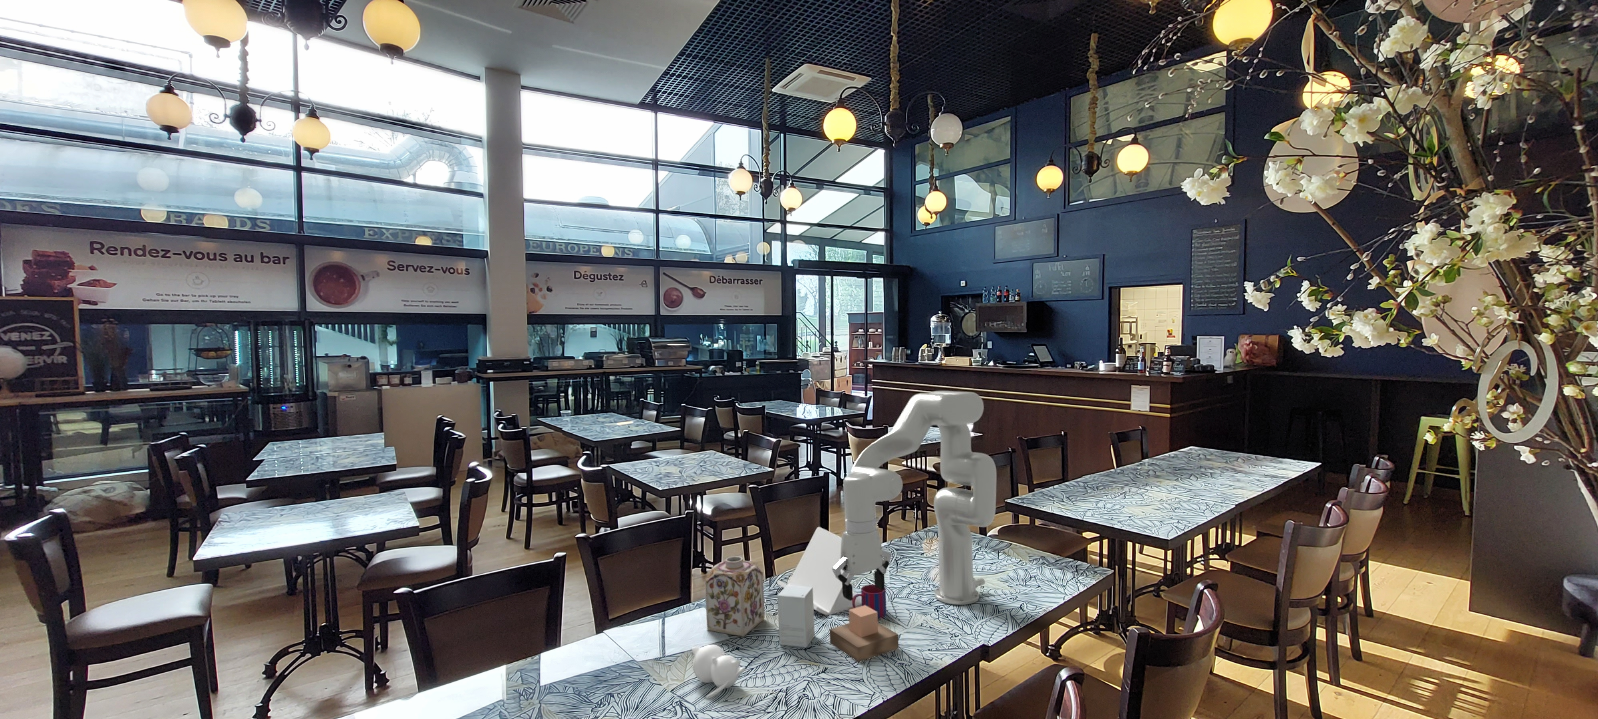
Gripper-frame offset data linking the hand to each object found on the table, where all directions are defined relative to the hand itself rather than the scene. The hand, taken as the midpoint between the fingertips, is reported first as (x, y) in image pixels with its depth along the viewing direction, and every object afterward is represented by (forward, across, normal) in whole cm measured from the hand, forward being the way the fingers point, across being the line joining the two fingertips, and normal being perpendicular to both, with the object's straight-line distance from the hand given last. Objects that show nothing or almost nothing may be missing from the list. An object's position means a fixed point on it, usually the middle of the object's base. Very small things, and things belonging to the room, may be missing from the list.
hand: (864, 593), depth 160 cm
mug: (+13, -11, -14) cm, 22 cm away
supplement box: (+13, +13, -12) cm, 22 cm away
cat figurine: (+12, +39, -4) cm, 41 cm away
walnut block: (+13, +1, 0) cm, 13 cm away
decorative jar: (+12, +22, -29) cm, 38 cm away
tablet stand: (+14, -8, -32) cm, 36 cm away
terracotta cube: (+9, +1, 0) cm, 9 cm away
